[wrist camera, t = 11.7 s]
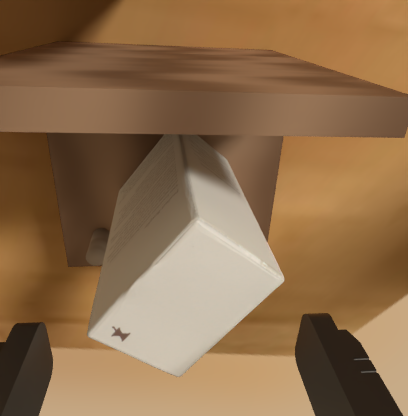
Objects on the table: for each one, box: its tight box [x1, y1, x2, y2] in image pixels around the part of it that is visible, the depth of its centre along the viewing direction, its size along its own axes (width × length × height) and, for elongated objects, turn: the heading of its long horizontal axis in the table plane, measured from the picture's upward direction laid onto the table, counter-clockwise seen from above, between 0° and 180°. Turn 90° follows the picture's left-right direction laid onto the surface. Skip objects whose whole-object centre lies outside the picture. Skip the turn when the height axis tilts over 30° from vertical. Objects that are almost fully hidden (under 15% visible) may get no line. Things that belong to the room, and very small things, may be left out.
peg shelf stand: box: [0, 41, 408, 267], centre depth 20 cm, size 14×14×16 cm
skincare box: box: [87, 134, 284, 377], centre depth 17 cm, size 6×4×12 cm
